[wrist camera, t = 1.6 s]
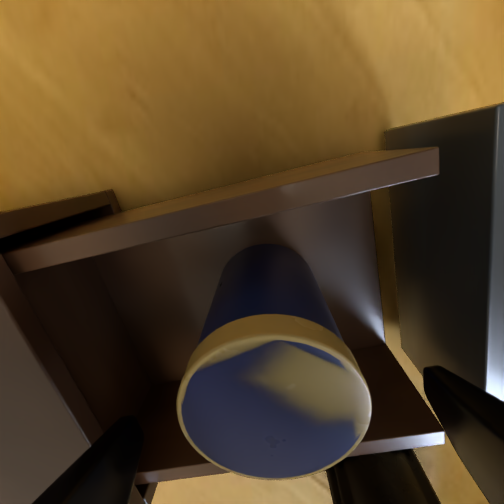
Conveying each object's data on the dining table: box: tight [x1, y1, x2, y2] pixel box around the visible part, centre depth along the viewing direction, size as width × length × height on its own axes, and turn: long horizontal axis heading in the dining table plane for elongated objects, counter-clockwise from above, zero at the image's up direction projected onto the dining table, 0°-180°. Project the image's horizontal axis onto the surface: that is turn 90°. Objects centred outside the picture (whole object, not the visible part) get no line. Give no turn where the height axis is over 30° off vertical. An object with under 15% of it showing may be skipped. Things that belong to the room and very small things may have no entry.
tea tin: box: [176, 244, 372, 480], centre depth 11 cm, size 6×6×8 cm
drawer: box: [0, 102, 504, 485], centre depth 13 cm, size 23×13×7 cm, turn 104°
